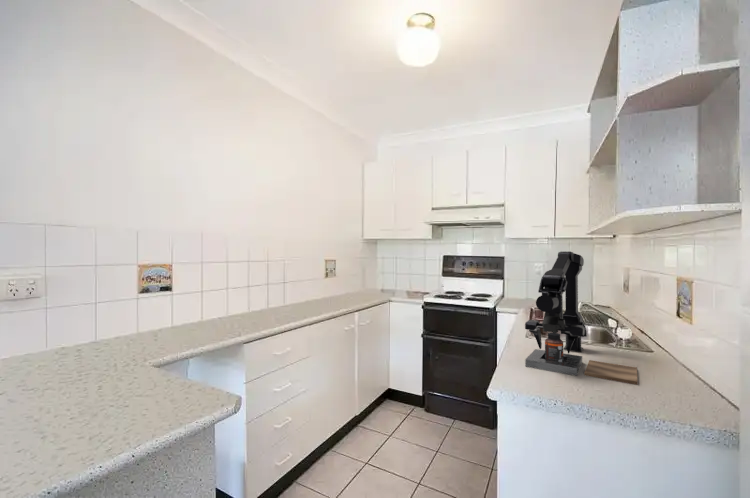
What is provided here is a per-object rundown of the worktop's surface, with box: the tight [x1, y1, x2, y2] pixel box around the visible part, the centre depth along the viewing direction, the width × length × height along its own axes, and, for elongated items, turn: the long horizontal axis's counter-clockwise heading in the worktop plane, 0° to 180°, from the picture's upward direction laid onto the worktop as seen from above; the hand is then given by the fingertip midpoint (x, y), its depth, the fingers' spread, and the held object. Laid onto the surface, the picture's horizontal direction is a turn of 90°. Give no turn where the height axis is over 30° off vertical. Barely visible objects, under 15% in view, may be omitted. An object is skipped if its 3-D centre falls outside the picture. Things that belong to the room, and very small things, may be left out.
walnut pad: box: [584, 359, 639, 386], centre depth 116 cm, size 16×14×1 cm
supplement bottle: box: [544, 332, 564, 363], centre depth 124 cm, size 6×6×11 cm
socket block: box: [524, 348, 583, 376], centre depth 124 cm, size 16×16×2 cm
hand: (554, 351), depth 124 cm, fingers open, 9 cm apart
